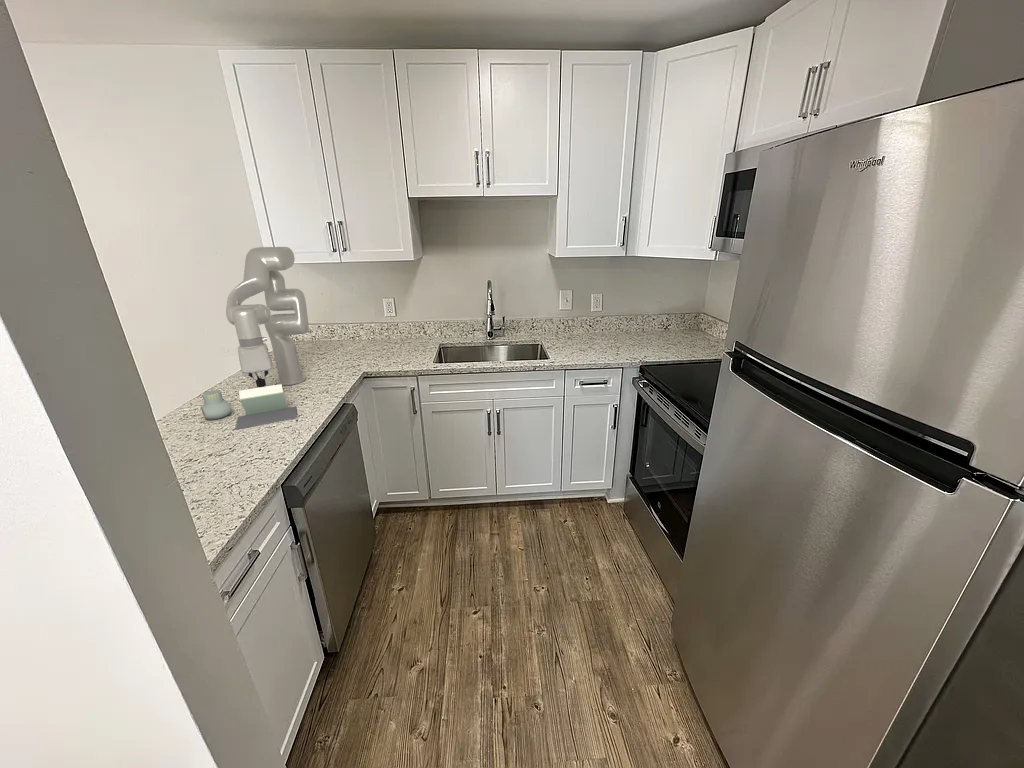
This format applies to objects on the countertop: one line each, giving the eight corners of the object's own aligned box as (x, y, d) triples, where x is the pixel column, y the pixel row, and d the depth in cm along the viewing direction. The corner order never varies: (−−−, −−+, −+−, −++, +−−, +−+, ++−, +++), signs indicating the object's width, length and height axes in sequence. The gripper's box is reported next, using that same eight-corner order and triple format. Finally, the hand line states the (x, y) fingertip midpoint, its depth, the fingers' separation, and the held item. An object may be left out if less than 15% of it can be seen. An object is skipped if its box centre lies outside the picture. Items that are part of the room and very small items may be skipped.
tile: (246, 407, 164) (238, 390, 155) (286, 400, 170) (281, 384, 161) (247, 416, 163) (239, 399, 153) (287, 408, 169) (282, 392, 159)
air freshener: (202, 415, 164) (195, 391, 160) (227, 409, 169) (220, 386, 165) (208, 424, 156) (201, 399, 153) (234, 417, 162) (227, 393, 158)
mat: (238, 418, 161) (237, 416, 161) (296, 407, 169) (295, 406, 169) (235, 430, 151) (235, 428, 151) (297, 418, 160) (296, 416, 160)
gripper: (274, 337, 163) (283, 381, 169) (228, 342, 157) (240, 388, 163) (273, 341, 157) (283, 387, 163) (226, 347, 150) (238, 394, 157)
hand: (262, 388), depth 163 cm, fingers closed
